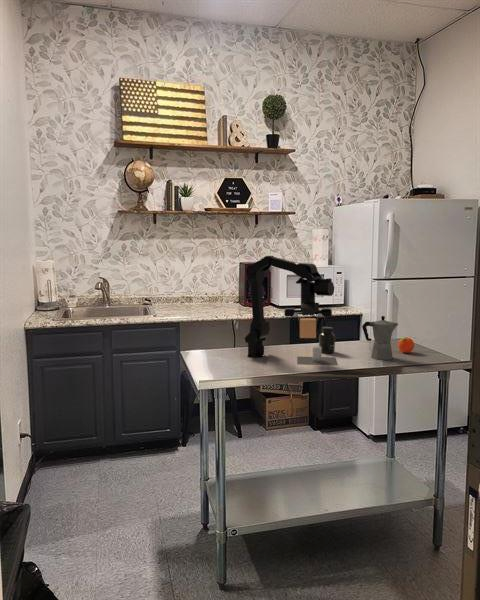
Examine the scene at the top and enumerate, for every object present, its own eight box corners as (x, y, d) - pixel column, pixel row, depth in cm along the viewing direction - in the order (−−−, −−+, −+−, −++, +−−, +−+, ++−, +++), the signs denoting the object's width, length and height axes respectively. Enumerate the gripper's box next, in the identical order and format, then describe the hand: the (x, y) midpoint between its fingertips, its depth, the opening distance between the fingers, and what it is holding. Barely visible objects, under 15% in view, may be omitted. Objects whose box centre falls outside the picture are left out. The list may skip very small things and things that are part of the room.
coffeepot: (393, 355, 225) (394, 314, 223) (400, 359, 216) (402, 317, 214) (358, 355, 224) (359, 314, 222) (364, 360, 215) (365, 317, 213)
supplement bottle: (334, 356, 222) (335, 329, 221) (318, 355, 224) (319, 328, 222) (334, 353, 229) (335, 326, 228) (319, 352, 230) (319, 326, 229)
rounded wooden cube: (299, 338, 205) (299, 320, 204) (300, 335, 211) (300, 318, 211) (316, 338, 204) (316, 320, 203) (315, 335, 210) (315, 318, 210)
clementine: (406, 355, 224) (406, 339, 223) (393, 352, 230) (393, 337, 229) (417, 353, 229) (418, 337, 228) (404, 350, 234) (404, 335, 234)
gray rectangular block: (312, 361, 208) (313, 348, 208) (312, 359, 212) (312, 346, 211) (321, 361, 208) (321, 348, 207) (320, 359, 211) (321, 346, 211)
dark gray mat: (297, 366, 204) (297, 364, 204) (297, 358, 218) (297, 356, 218) (338, 367, 202) (338, 365, 202) (335, 359, 216) (335, 357, 216)
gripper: (283, 296, 199) (283, 336, 201) (332, 296, 197) (332, 337, 198) (284, 294, 210) (285, 332, 212) (331, 294, 208) (331, 332, 209)
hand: (307, 333), depth 208 cm, fingers closed on rounded wooden cube, 6 cm apart
